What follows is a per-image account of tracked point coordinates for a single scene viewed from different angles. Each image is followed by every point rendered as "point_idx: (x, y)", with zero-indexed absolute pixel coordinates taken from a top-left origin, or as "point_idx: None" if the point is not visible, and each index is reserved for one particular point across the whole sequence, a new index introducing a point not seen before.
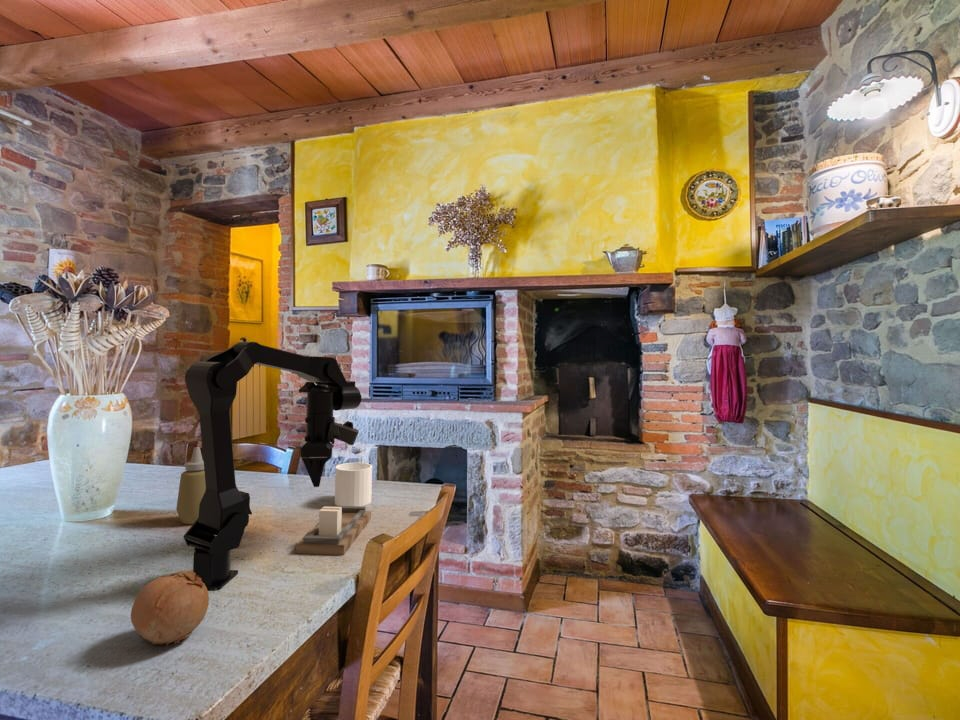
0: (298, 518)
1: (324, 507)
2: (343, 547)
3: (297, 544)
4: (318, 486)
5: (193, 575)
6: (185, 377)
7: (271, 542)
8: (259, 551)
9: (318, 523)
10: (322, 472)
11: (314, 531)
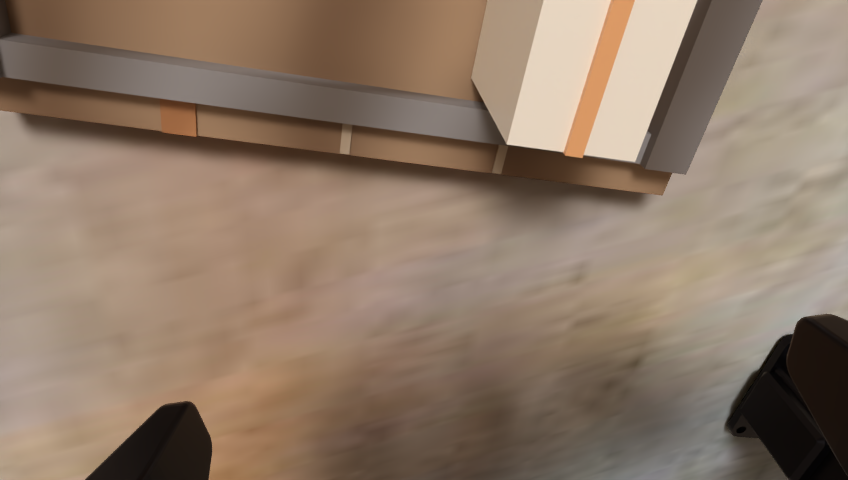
0: (74, 291)
1: (538, 133)
2: None
3: (663, 187)
4: (824, 320)
5: None
6: None
7: (461, 317)
8: (566, 331)
9: (307, 144)
10: (167, 444)
11: None
